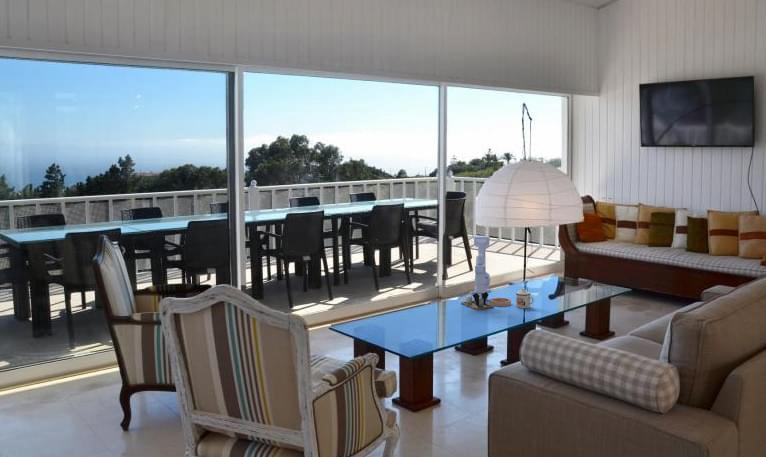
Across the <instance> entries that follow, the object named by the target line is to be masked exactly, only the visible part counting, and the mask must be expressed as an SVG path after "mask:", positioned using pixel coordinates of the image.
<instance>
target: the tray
mask: <svg viewBox="0 0 766 457" xmlns="http://www.w3.org/2000/svg"><path fill="white" fill-rule="evenodd" d="M460 305H463V306H465V307H467V308H470V309H473V310H475V311H480V310H482V311H483V310H488V309H489V310H490V309H495V306H493V305H491V304H490V303H487V302H485V305H484V307H480V308H478V307H477V305H476V304H474V300H472V305H468V304H466V301H461V302H460Z"/></svg>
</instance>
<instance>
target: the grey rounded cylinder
mask: <svg viewBox="0 0 766 457" xmlns="http://www.w3.org/2000/svg"><path fill="white" fill-rule="evenodd" d="M477 307H478V308H480V307H484V298H479V306H477Z"/></svg>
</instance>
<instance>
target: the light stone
mask: <svg viewBox="0 0 766 457" xmlns="http://www.w3.org/2000/svg"><path fill="white" fill-rule="evenodd" d="M472 301H473V295H466V296H465V302H466V304H468V305H472Z"/></svg>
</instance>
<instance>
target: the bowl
mask: <svg viewBox="0 0 766 457" xmlns="http://www.w3.org/2000/svg"><path fill="white" fill-rule="evenodd" d="M489 304H490V305H492V306H494V307H508V306H511V305H512V299H510V298H507V297H492V298H490V299H489Z"/></svg>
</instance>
